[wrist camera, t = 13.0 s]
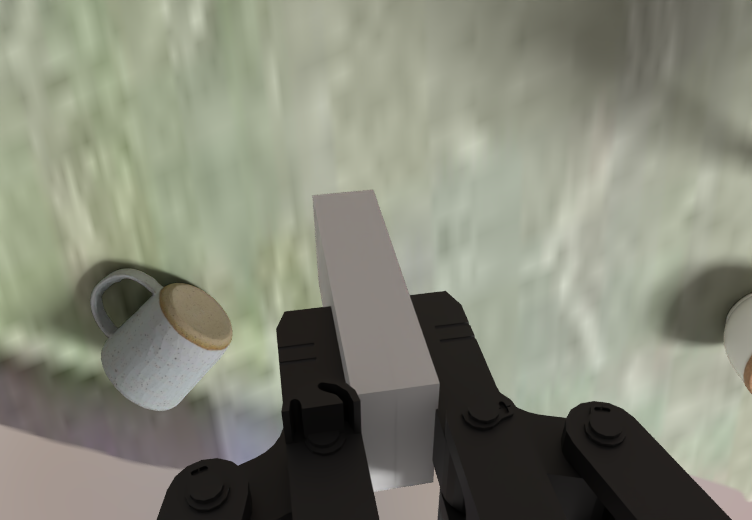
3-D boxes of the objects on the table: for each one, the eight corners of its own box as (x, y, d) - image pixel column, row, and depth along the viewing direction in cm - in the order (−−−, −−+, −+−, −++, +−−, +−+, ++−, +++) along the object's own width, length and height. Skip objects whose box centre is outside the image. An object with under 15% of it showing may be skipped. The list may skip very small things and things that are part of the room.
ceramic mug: (239, 303, 59) (239, 365, 53) (183, 361, 62) (177, 427, 55) (129, 240, 54) (115, 301, 48) (72, 306, 56) (52, 373, 50)
